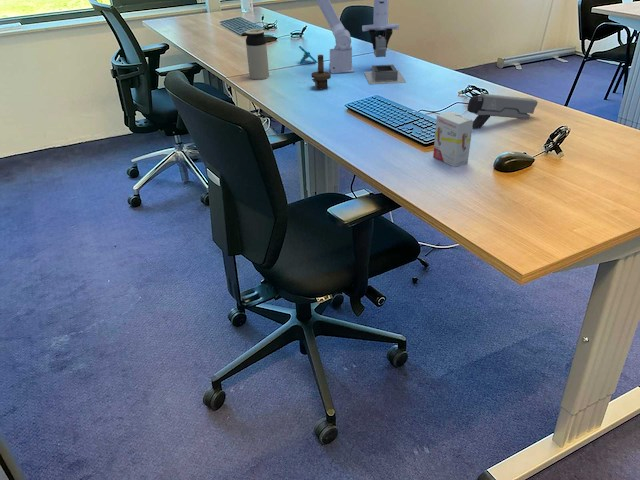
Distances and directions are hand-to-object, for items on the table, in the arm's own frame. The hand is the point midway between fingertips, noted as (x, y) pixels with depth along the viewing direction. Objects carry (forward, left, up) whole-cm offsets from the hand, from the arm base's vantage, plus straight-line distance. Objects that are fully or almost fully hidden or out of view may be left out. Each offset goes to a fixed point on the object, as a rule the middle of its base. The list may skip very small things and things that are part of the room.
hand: (379, 49), depth 211 cm
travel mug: (-50, -3, -8) cm, 51 cm away
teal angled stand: (-29, +17, -8) cm, 35 cm away
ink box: (+5, -94, -8) cm, 95 cm away
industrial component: (-25, -22, -8) cm, 34 cm away
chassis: (0, -13, -8) cm, 15 cm away
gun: (+27, -69, -8) cm, 75 cm away
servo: (0, 0, -2) cm, 2 cm away
